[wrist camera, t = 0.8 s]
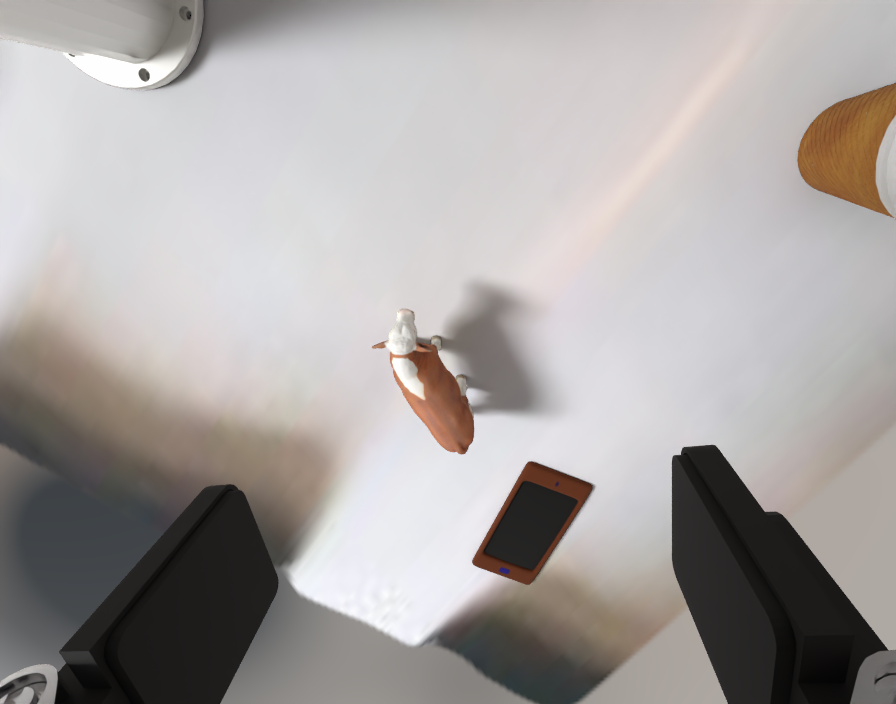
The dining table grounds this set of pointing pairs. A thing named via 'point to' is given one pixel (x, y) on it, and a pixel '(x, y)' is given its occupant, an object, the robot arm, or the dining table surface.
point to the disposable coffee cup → (854, 151)
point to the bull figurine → (430, 385)
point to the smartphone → (531, 522)
